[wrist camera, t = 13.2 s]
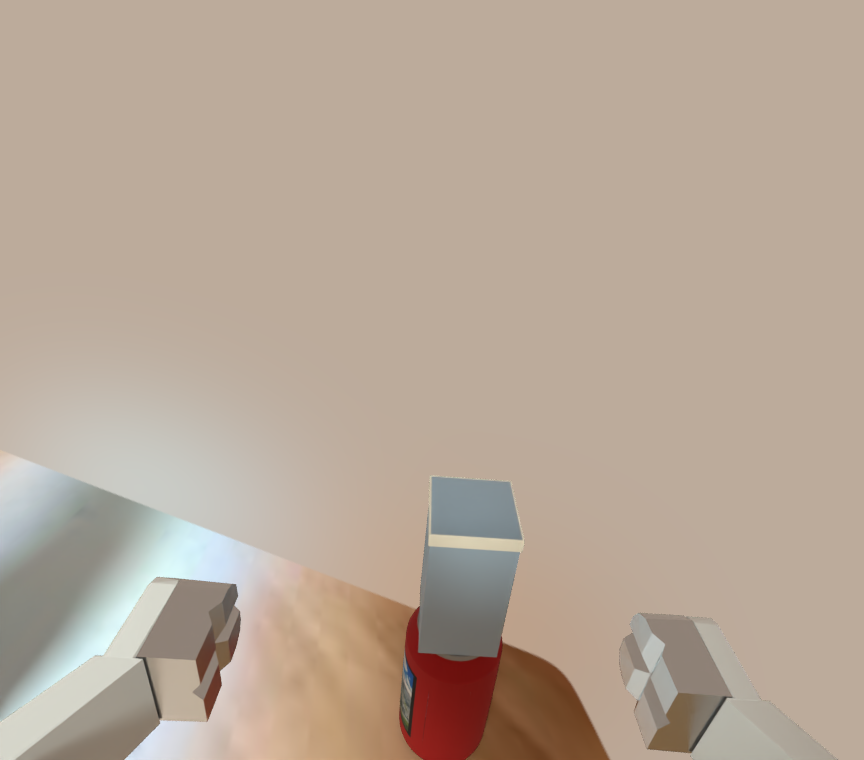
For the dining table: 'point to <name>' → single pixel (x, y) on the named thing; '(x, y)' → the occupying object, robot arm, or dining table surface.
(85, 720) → the robot arm
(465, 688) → the beverage can
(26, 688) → the dining table surface
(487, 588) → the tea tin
